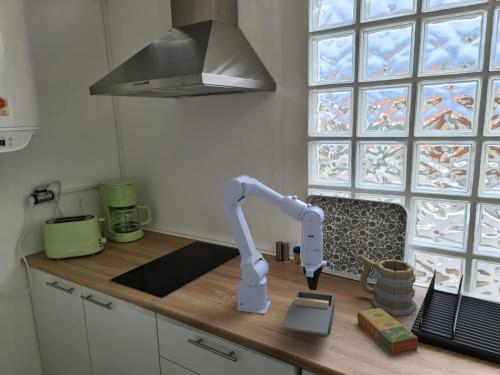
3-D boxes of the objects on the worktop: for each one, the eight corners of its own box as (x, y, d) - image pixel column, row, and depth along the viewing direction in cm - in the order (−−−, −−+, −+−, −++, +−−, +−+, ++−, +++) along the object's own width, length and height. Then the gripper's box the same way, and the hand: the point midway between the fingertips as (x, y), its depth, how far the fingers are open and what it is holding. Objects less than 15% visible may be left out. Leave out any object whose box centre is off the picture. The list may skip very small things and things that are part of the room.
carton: (380, 319, 109) (381, 306, 109) (418, 351, 94) (419, 336, 93) (356, 324, 107) (357, 311, 106) (391, 357, 92) (392, 342, 91)
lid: (282, 328, 96) (281, 320, 96) (292, 303, 109) (292, 296, 109) (327, 335, 93) (327, 327, 92) (332, 308, 106) (332, 301, 105)
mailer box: (289, 327, 106) (289, 312, 105) (297, 304, 119) (297, 290, 118) (330, 333, 102) (330, 317, 101) (334, 309, 115) (334, 295, 114)
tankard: (420, 304, 117) (423, 261, 114) (405, 320, 108) (407, 274, 105) (363, 286, 130) (364, 247, 128) (346, 299, 122) (346, 257, 119)
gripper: (323, 257, 99) (323, 302, 101) (329, 240, 113) (328, 280, 115) (298, 255, 101) (298, 299, 104) (306, 238, 115) (306, 278, 117)
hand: (312, 289), depth 109 cm, fingers closed
